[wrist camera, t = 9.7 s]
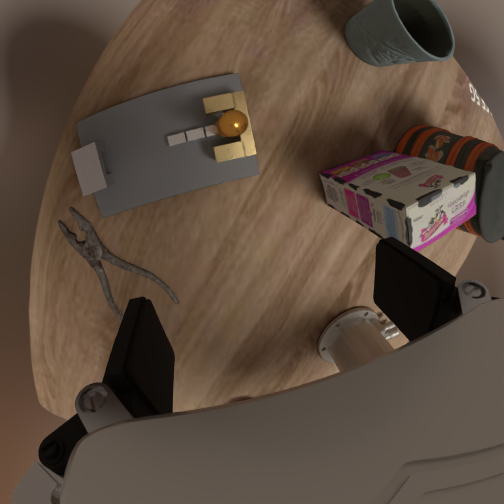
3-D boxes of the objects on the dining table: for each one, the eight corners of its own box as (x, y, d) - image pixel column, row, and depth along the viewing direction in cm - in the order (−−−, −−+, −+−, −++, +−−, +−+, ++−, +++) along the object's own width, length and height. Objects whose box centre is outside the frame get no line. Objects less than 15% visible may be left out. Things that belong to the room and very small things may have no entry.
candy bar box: (327, 207, 35) (407, 261, 20) (316, 172, 32) (403, 206, 18) (390, 181, 35) (478, 216, 20) (383, 148, 33) (477, 170, 18)
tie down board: (236, 75, 26) (238, 73, 24) (256, 172, 31) (259, 174, 30) (80, 123, 24) (75, 122, 23) (105, 214, 29) (102, 218, 28)
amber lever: (229, 117, 26) (245, 107, 17) (233, 134, 27) (250, 133, 18) (167, 132, 26) (151, 130, 17) (171, 150, 26) (157, 156, 17)
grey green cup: (386, 84, 29) (448, 78, 18) (327, 43, 25) (382, 15, 15) (402, 38, 25) (458, 25, 15) (349, -1, 22) (399, -31, 11)
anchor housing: (104, 141, 24) (94, 141, 22) (115, 182, 27) (107, 187, 24) (81, 150, 24) (70, 152, 22) (93, 190, 26) (83, 196, 24)
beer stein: (466, 174, 37) (549, 206, 19) (435, 238, 41) (515, 291, 23) (413, 106, 30) (526, 117, 13) (375, 184, 34) (490, 235, 17)
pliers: (145, 338, 37) (39, 257, 29) (145, 334, 38) (41, 255, 29) (184, 298, 35) (67, 204, 27) (184, 295, 36) (70, 202, 28)
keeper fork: (238, 95, 26) (243, 90, 23) (250, 152, 28) (256, 154, 26) (202, 102, 25) (202, 98, 22) (215, 160, 28) (217, 162, 25)
